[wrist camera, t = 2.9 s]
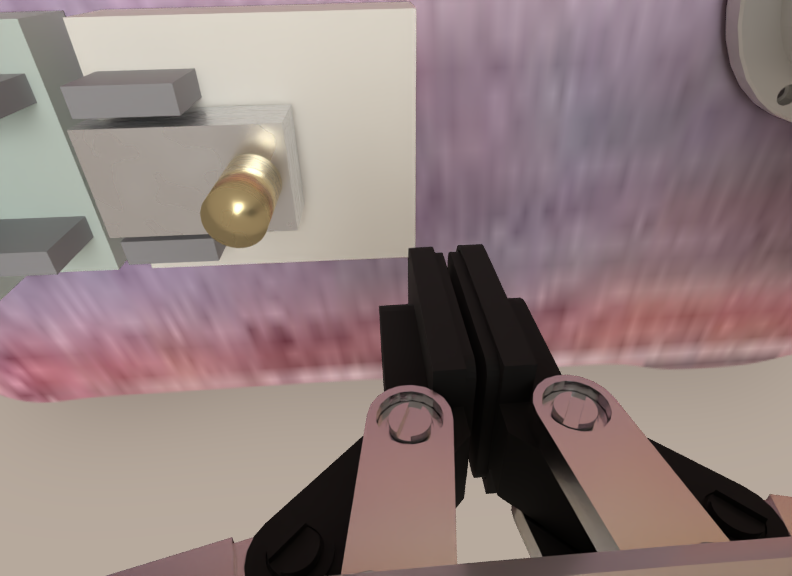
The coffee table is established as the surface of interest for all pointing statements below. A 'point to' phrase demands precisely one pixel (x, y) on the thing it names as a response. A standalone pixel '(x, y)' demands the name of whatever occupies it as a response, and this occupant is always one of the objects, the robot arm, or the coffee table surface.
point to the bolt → (195, 173)
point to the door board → (274, 85)
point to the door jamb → (43, 159)
